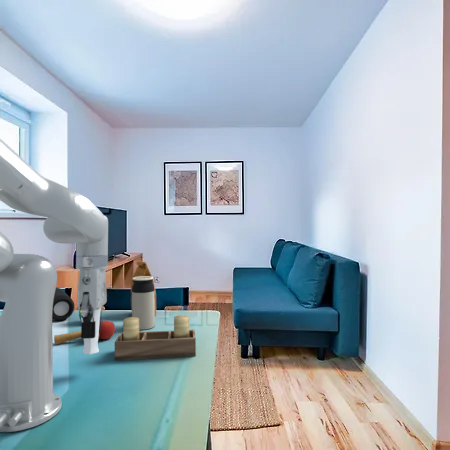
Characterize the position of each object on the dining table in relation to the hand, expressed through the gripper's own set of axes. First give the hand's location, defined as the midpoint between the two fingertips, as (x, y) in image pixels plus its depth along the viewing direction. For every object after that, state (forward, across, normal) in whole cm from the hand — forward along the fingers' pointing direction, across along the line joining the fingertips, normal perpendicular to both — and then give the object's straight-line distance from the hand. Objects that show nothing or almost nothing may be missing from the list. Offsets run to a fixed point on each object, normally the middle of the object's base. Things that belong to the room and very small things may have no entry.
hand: (91, 334), depth 86 cm
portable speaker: (+8, +60, +30) cm, 68 cm away
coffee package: (+8, +54, -6) cm, 55 cm away
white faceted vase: (+5, 0, 0) cm, 5 cm away
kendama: (+9, +25, +8) cm, 28 cm away
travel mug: (+8, +37, -8) cm, 39 cm away
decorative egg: (+8, +46, +12) cm, 49 cm away
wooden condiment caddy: (+9, +11, -16) cm, 21 cm away
